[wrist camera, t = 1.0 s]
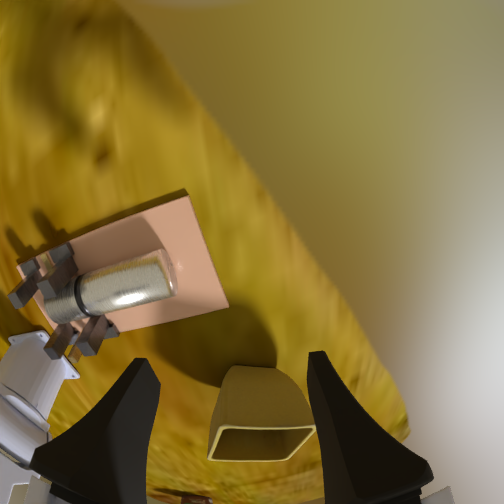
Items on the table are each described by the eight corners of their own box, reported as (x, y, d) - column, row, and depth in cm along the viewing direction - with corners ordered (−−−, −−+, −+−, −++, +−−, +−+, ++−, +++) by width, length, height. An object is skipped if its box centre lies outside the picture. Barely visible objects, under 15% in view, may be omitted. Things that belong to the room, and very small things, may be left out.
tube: (74, 316, 22) (53, 330, 18) (60, 280, 21) (38, 290, 17) (181, 288, 21) (169, 304, 18) (167, 245, 21) (151, 252, 17)
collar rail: (70, 341, 24) (55, 369, 20) (22, 262, 19) (-2, 285, 15) (120, 332, 23) (107, 364, 19) (69, 241, 19) (42, 264, 15)
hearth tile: (64, 339, 24) (63, 342, 24) (18, 264, 20) (16, 266, 19) (229, 303, 24) (229, 307, 23) (189, 194, 19) (187, 196, 19)
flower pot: (300, 356, 27) (321, 426, 19) (276, 401, 31) (287, 461, 23) (218, 348, 26) (219, 425, 18) (206, 396, 29) (206, 460, 21)
